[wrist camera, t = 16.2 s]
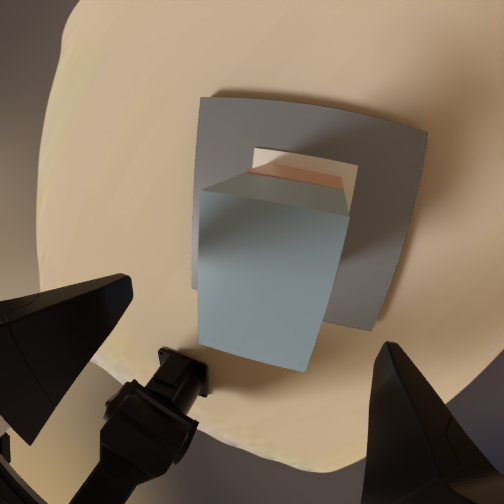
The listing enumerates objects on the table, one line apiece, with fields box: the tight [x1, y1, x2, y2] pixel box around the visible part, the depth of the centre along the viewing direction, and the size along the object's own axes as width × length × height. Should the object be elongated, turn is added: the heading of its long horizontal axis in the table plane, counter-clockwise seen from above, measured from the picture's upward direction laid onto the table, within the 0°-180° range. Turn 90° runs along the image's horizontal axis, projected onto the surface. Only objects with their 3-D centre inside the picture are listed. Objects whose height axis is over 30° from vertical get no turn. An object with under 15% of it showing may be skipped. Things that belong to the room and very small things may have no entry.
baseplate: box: [192, 97, 428, 331], centre depth 20 cm, size 16×16×1 cm
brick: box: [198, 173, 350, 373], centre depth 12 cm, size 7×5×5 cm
